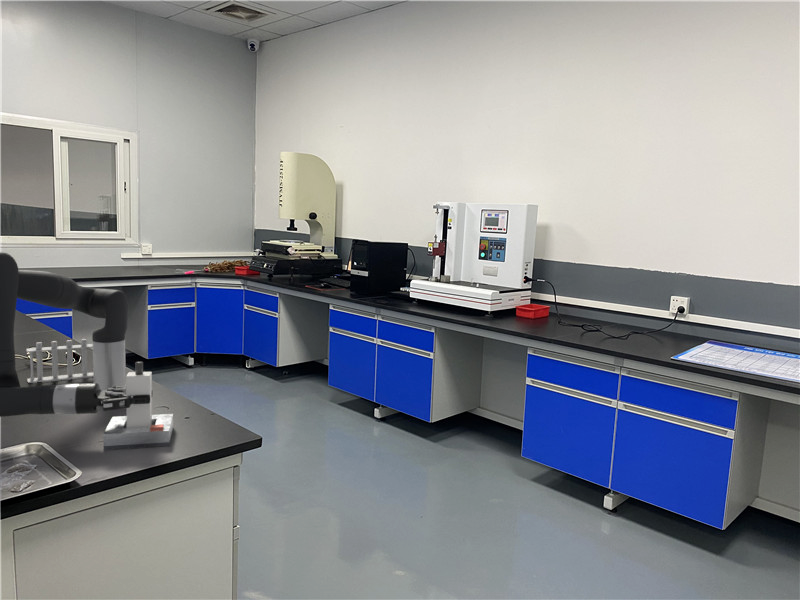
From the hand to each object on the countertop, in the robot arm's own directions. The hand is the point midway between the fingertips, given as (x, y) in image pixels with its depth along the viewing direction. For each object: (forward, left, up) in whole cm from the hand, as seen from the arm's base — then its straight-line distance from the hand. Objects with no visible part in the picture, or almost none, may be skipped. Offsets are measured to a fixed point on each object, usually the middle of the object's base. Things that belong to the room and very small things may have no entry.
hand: (150, 396), depth 153 cm
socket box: (0, -3, -11) cm, 11 cm away
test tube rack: (-62, -32, -12) cm, 71 cm away
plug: (0, -3, -8) cm, 8 cm away
